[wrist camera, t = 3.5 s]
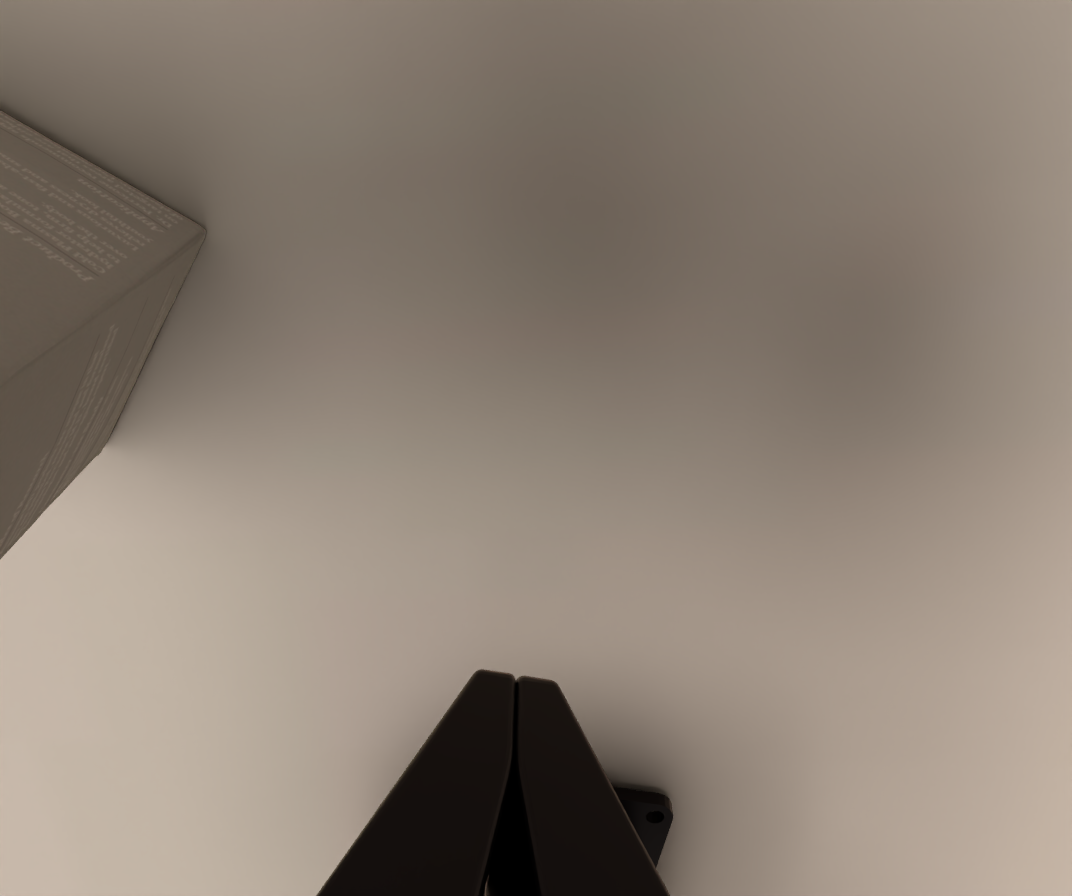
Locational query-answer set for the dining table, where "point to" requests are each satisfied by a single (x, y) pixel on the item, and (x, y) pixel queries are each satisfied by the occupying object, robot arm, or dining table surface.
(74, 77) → the dining table surface
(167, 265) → the skincare box
